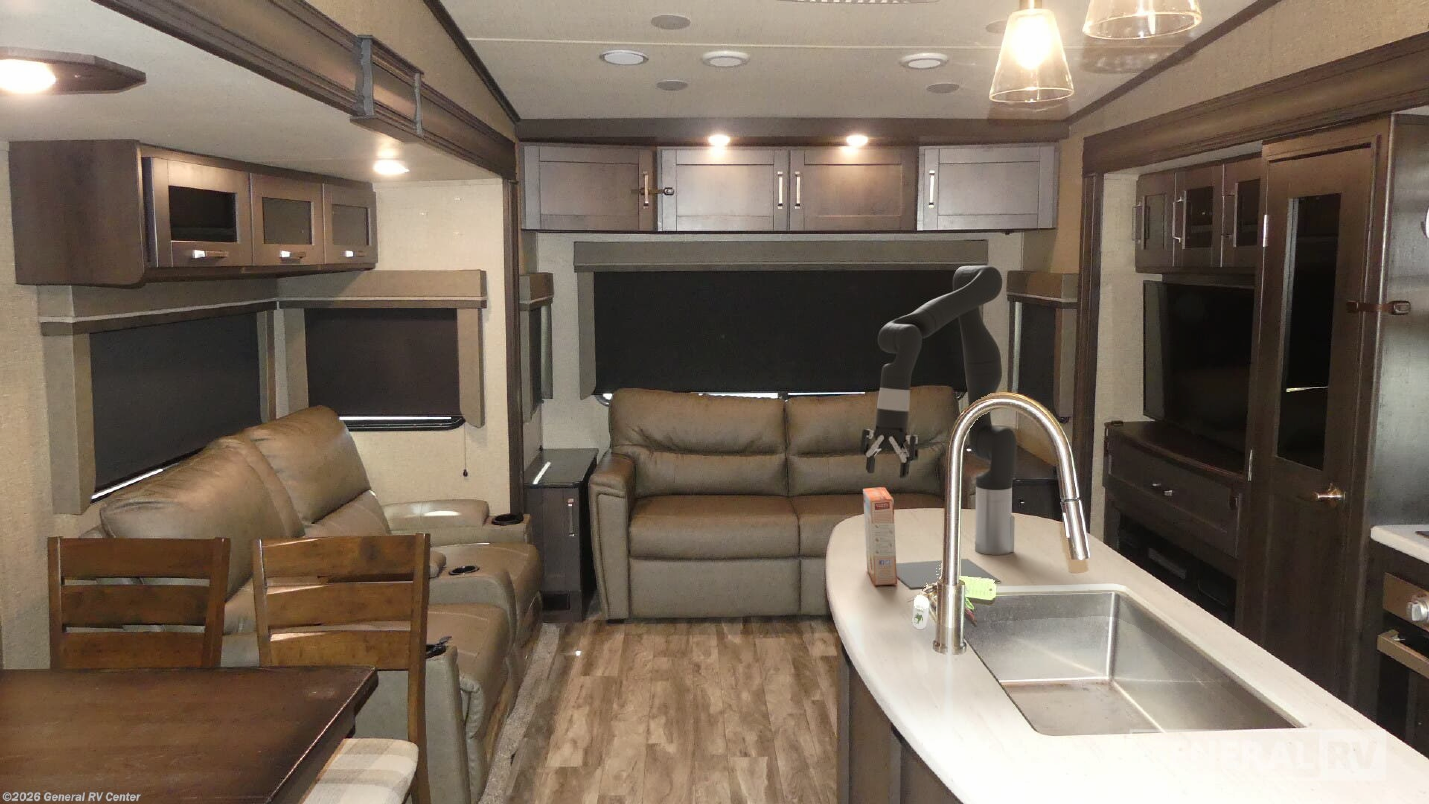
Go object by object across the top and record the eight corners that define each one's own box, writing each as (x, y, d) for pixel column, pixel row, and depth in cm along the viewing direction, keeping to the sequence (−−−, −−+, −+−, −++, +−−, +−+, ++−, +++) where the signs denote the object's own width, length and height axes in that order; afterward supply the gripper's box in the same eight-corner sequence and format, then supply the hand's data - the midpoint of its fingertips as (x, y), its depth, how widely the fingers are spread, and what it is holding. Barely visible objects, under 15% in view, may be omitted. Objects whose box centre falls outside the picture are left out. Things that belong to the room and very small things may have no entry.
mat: (967, 560, 273) (967, 558, 273) (1000, 582, 253) (1001, 581, 253) (883, 565, 269) (883, 564, 269) (910, 589, 249) (910, 587, 249)
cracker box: (899, 585, 252) (894, 498, 249) (873, 586, 252) (868, 500, 249) (890, 567, 265) (886, 485, 263) (866, 569, 266) (861, 487, 263)
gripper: (927, 411, 252) (920, 479, 253) (873, 404, 260) (867, 470, 261) (913, 411, 246) (906, 480, 247) (859, 404, 254) (852, 472, 255)
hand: (886, 475), depth 254 cm, fingers open, 8 cm apart
